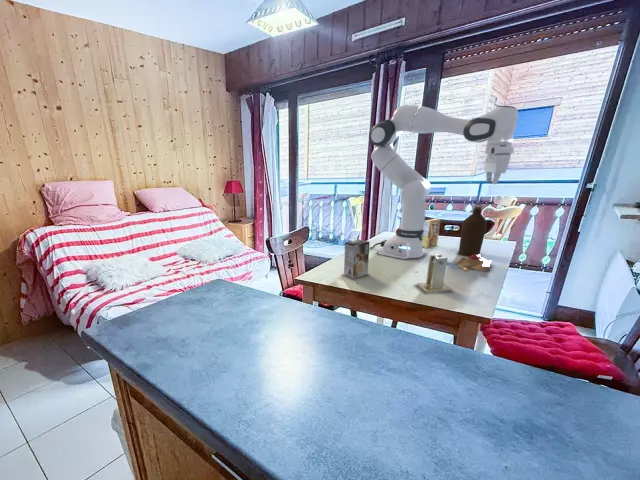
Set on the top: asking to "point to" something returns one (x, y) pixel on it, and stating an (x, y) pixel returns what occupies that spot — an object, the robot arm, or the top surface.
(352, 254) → the coffee box
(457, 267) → the lever
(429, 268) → the bracket
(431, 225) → the candy box
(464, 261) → the button block
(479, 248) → the olive oil
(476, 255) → the button
